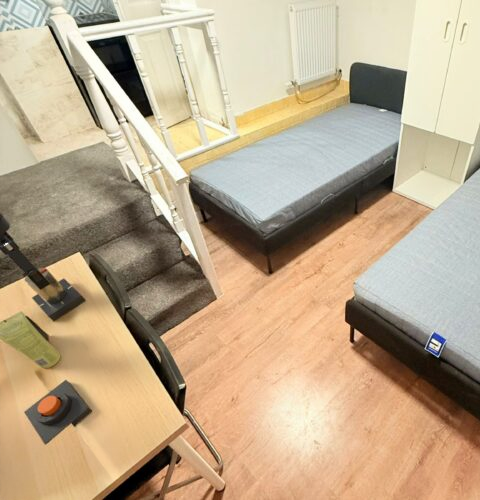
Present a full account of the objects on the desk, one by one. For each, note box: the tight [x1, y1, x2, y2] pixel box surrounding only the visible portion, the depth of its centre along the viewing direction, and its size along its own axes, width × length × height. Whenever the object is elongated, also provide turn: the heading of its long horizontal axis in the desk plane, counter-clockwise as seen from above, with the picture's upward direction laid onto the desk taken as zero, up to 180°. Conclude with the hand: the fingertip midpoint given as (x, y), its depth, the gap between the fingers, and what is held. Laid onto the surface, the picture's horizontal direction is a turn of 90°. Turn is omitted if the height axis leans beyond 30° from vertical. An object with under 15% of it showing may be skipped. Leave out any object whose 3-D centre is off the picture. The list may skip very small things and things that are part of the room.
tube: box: [0, 311, 61, 369], centre depth 87 cm, size 6×5×20 cm
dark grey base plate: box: [23, 379, 93, 445], centre depth 82 cm, size 12×10×4 cm
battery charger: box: [25, 315, 49, 343], centre depth 93 cm, size 7×4×11 cm, turn 27°
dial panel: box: [31, 278, 86, 322], centre depth 107 cm, size 12×10×3 cm
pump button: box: [37, 396, 61, 416], centre depth 80 cm, size 4×4×2 cm
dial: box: [24, 267, 67, 304], centre depth 102 cm, size 6×6×10 cm
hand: (35, 276), depth 99 cm, fingers open, 13 cm apart
